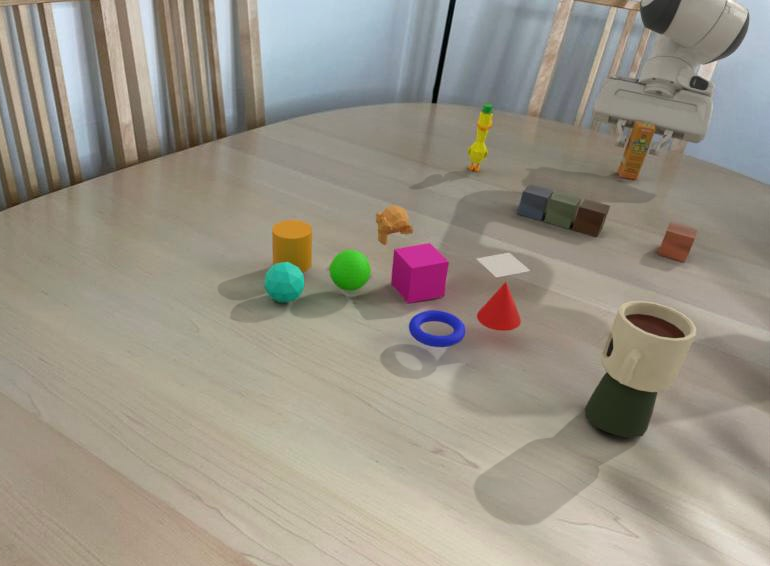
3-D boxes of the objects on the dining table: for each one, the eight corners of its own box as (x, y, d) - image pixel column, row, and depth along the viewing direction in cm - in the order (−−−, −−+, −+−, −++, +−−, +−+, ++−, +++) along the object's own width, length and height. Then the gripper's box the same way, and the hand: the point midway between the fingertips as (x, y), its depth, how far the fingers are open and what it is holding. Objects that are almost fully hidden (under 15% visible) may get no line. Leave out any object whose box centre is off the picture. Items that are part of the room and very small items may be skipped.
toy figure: (467, 161, 140) (481, 96, 133) (486, 164, 139) (501, 100, 133) (462, 173, 135) (476, 106, 128) (481, 176, 134) (497, 110, 127)
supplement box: (619, 177, 139) (637, 125, 134) (616, 171, 142) (634, 119, 136) (637, 180, 139) (656, 128, 133) (635, 174, 142) (653, 122, 136)
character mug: (600, 386, 84) (640, 285, 76) (664, 415, 80) (712, 313, 73) (560, 431, 76) (599, 325, 69) (628, 466, 73) (677, 358, 65)
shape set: (238, 265, 103) (236, 217, 98) (463, 227, 112) (470, 182, 108) (312, 396, 80) (313, 341, 76) (585, 334, 90) (599, 283, 85)
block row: (523, 206, 124) (529, 183, 122) (688, 252, 114) (698, 229, 112) (516, 214, 121) (522, 191, 119) (684, 262, 112) (695, 238, 109)
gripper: (607, 63, 140) (580, 127, 138) (725, 86, 132) (697, 154, 130) (605, 82, 145) (578, 144, 144) (717, 106, 138) (691, 171, 136)
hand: (636, 149), depth 137 cm, fingers open, 5 cm apart
